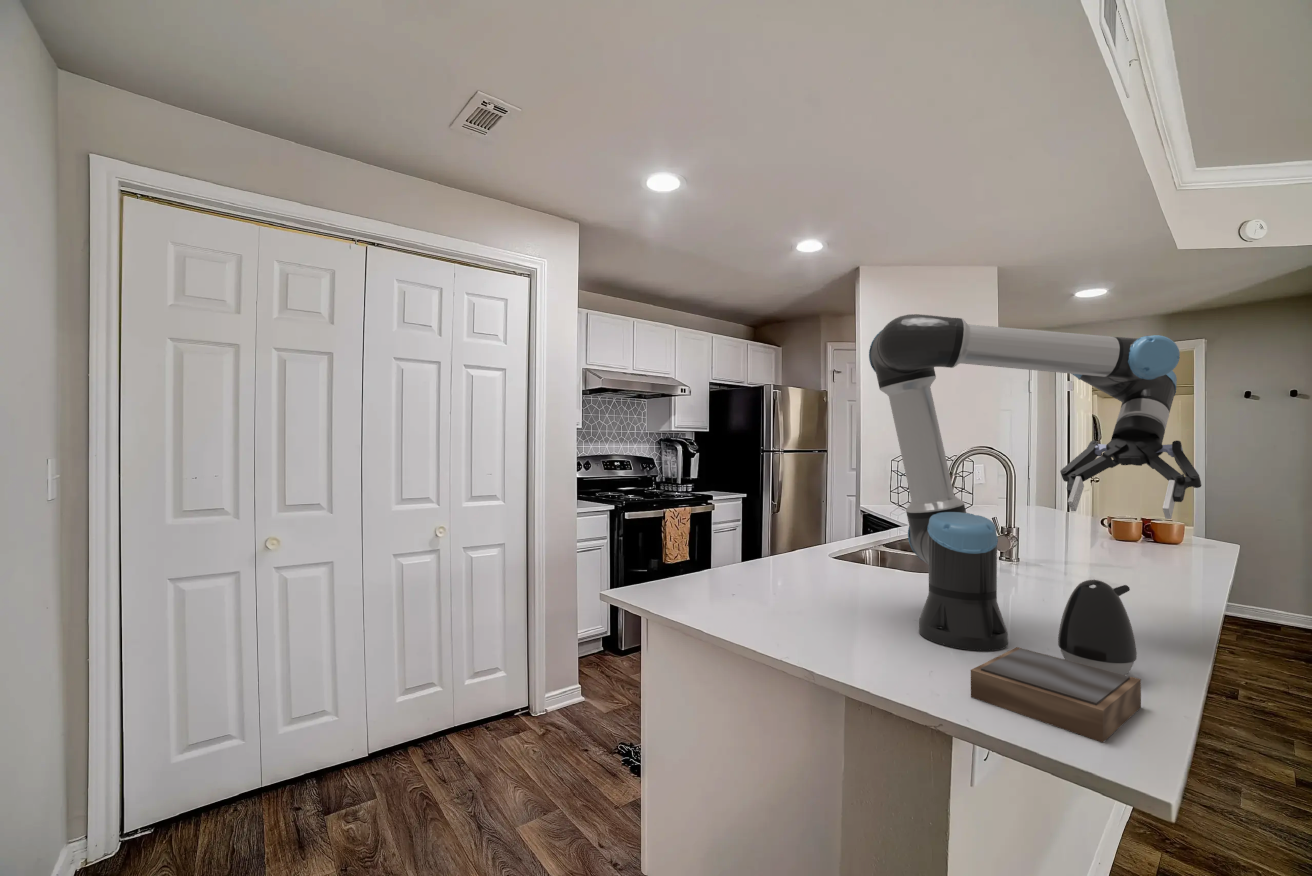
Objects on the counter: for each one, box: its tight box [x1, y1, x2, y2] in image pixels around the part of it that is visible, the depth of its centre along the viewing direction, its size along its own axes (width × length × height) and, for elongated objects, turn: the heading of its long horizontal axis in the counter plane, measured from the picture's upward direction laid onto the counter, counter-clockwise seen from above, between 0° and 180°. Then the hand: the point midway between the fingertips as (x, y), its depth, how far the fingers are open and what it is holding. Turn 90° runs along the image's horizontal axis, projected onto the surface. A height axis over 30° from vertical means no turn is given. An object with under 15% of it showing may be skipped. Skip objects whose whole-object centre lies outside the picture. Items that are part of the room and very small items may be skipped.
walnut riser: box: [970, 646, 1142, 743], centre depth 83 cm, size 16×16×4 cm
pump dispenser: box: [1057, 579, 1138, 676], centre depth 94 cm, size 10×10×15 cm
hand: (1116, 510), depth 103 cm, fingers open, 13 cm apart
